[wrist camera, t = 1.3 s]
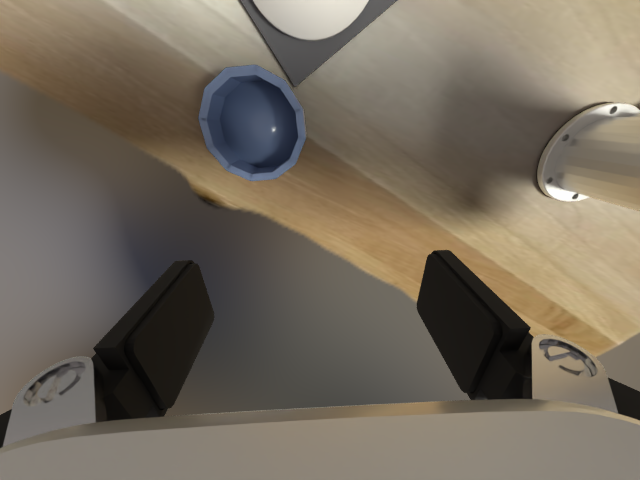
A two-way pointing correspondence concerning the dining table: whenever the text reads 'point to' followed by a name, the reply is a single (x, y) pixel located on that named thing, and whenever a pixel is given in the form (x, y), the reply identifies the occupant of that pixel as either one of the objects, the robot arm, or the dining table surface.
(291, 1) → the lid
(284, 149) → the bowl
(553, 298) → the dining table surface
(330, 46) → the mat
